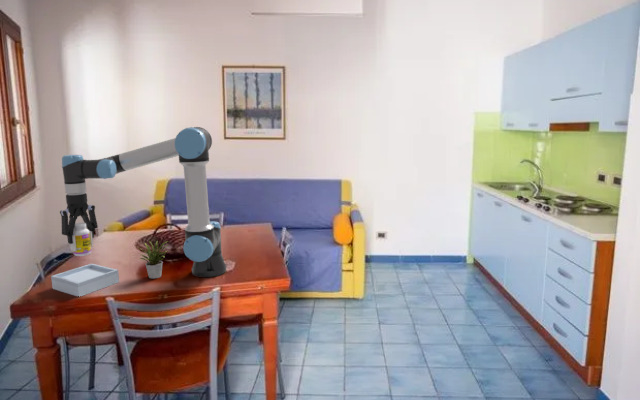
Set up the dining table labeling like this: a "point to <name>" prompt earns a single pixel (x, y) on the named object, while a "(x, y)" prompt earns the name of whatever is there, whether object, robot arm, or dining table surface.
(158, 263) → the house plant
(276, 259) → the dining table surface
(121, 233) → the dining table surface
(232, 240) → the dining table surface
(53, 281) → the shallow open tray
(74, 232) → the supplement bottle
